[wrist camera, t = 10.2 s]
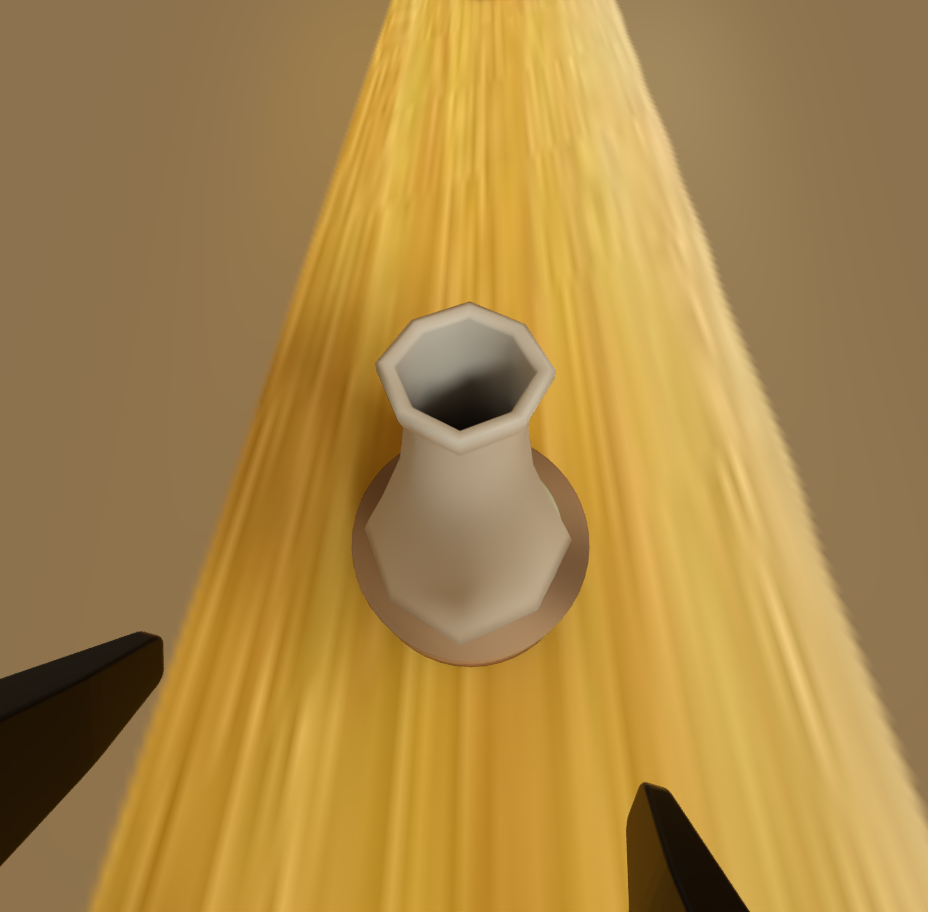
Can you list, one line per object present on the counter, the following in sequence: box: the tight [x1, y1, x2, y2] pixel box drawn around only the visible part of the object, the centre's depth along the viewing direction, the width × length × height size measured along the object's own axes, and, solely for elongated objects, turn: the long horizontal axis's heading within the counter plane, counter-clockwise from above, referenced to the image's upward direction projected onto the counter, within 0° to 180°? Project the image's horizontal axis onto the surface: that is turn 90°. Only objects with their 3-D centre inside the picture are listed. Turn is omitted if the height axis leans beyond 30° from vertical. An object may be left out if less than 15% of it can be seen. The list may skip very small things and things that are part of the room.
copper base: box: [352, 448, 589, 667], centre depth 19 cm, size 9×9×3 cm
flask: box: [365, 302, 572, 645], centre depth 13 cm, size 7×7×10 cm
